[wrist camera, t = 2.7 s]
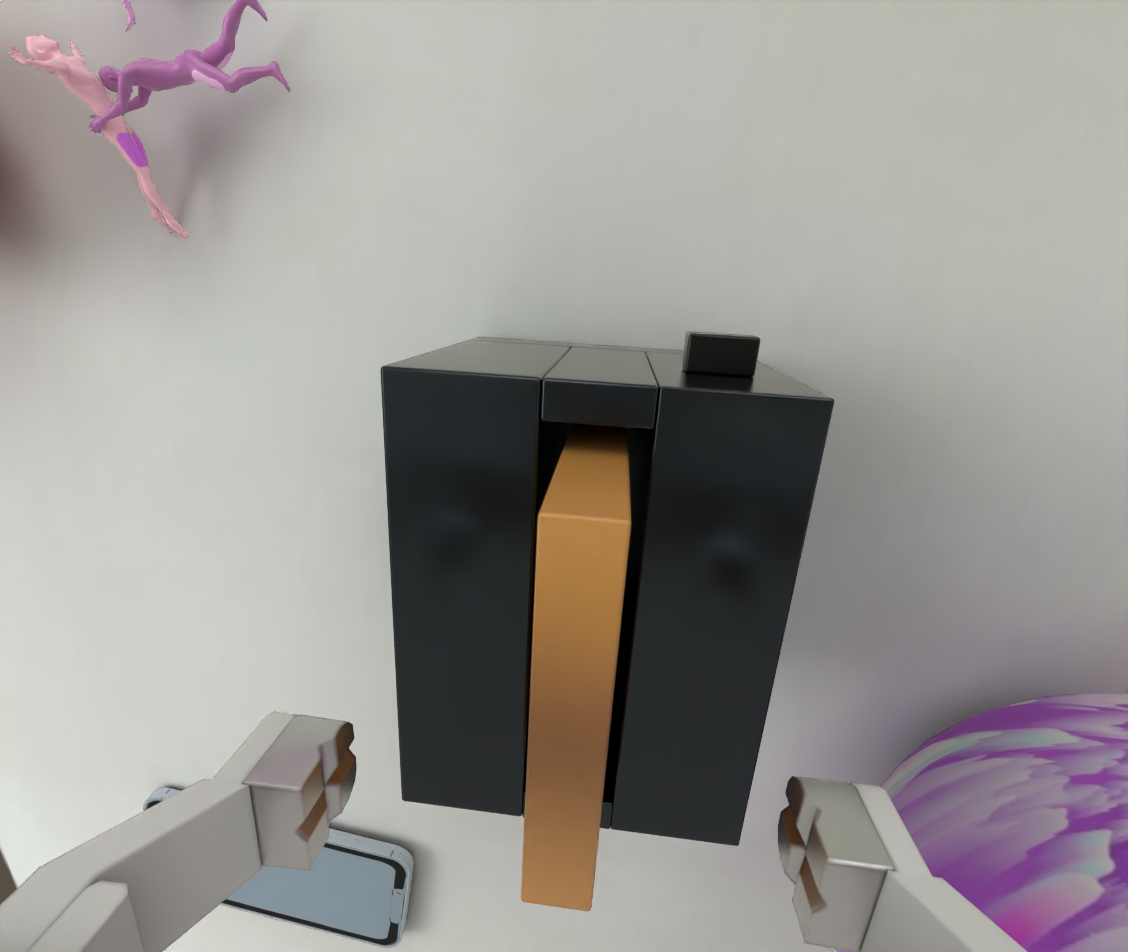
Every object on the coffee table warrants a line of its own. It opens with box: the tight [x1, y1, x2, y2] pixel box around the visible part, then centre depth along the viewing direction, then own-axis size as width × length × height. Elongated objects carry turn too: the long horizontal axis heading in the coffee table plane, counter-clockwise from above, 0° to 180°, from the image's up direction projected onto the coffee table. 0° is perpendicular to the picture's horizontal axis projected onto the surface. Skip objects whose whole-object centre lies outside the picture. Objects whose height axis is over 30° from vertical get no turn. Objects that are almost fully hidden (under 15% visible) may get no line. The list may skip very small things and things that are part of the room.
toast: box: [521, 424, 631, 911], centre depth 16 cm, size 10×2×11 cm, turn 177°
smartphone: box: [143, 787, 414, 948], centre depth 31 cm, size 7×1×15 cm
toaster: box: [381, 331, 834, 846], centre depth 18 cm, size 14×10×9 cm
